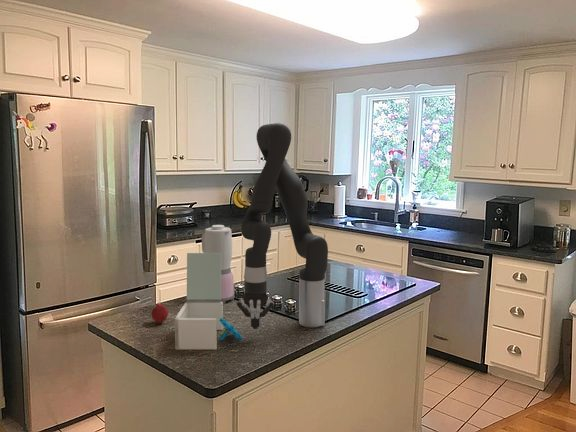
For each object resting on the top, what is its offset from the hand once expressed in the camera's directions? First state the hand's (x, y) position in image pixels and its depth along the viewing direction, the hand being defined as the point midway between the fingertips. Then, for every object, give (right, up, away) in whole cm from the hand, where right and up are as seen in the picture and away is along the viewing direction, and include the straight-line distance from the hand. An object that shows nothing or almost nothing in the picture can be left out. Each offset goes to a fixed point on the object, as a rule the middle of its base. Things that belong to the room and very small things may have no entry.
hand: (255, 328), depth 161 cm
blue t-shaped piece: (-8, -4, +1) cm, 9 cm away
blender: (-19, +2, +42) cm, 46 cm away
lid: (-19, +16, +7) cm, 26 cm away
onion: (-36, -2, +14) cm, 39 cm away
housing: (-19, -4, 0) cm, 19 cm away
